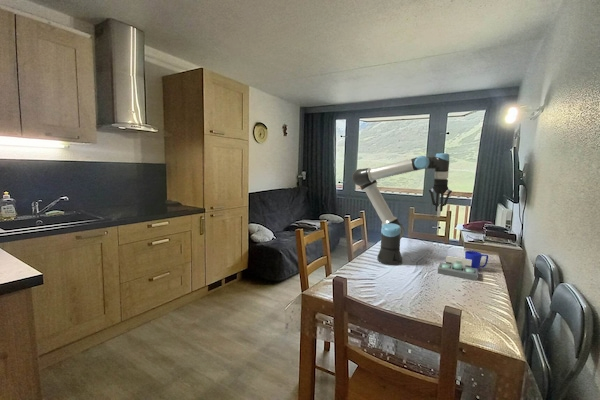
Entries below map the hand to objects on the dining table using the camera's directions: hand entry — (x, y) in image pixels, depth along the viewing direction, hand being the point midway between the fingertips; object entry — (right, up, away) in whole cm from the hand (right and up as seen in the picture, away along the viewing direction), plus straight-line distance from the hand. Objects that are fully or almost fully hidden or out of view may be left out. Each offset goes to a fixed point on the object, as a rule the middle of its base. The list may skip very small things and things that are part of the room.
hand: (438, 216), depth 173 cm
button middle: (+3, -29, -16) cm, 33 cm away
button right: (+8, -32, -19) cm, 38 cm away
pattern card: (+7, -31, -9) cm, 33 cm away
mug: (+17, -31, -9) cm, 37 cm away
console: (+3, -32, -16) cm, 35 cm away
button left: (-2, -31, -12) cm, 33 cm away
